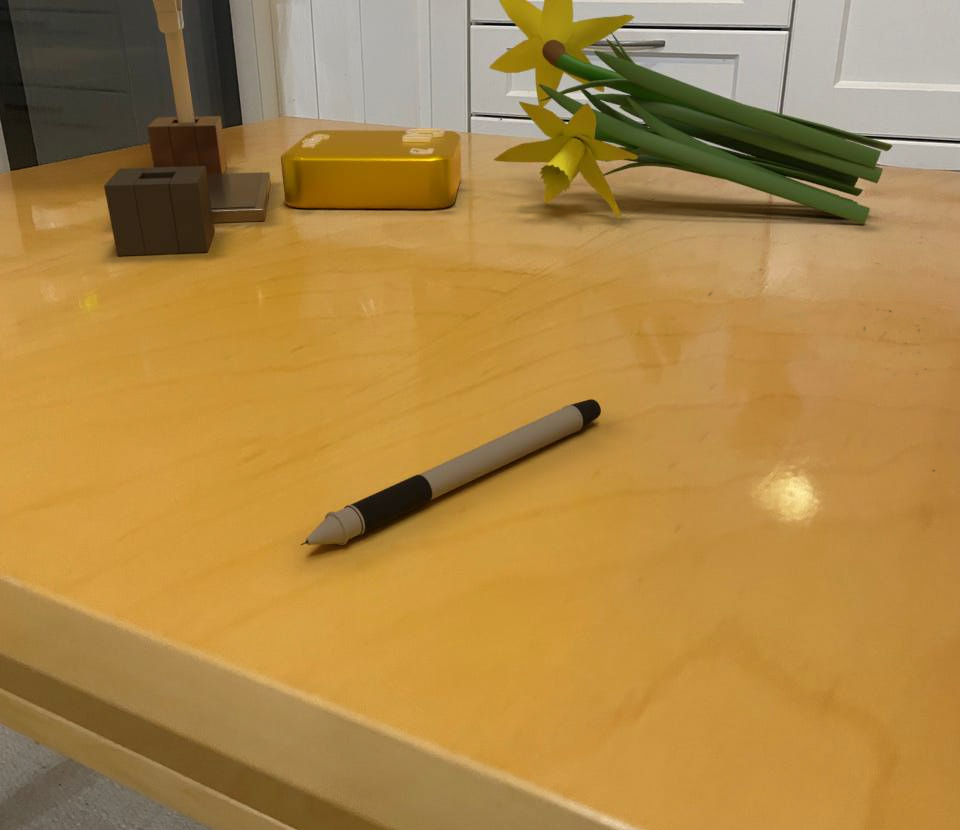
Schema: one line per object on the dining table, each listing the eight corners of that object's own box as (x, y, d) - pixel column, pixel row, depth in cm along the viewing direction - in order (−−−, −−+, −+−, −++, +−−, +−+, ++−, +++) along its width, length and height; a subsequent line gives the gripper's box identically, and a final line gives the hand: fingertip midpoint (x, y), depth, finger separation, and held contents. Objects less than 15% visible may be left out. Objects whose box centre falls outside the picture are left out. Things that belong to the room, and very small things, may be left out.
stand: (155, 180, 92) (146, 126, 90) (164, 168, 98) (156, 117, 95) (222, 178, 93) (215, 124, 91) (227, 166, 99) (220, 115, 96)
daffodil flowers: (877, 261, 70) (431, 116, 70) (808, 306, 85) (440, 186, 85) (945, 49, 70) (501, -94, 71) (864, 130, 85) (498, 12, 85)
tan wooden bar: (183, 166, 94) (160, 10, 87) (185, 164, 96) (162, 9, 89) (200, 166, 95) (178, 10, 88) (201, 163, 96) (179, 9, 89)
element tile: (313, 175, 94) (308, 124, 92) (462, 176, 94) (461, 125, 92) (280, 209, 81) (274, 151, 79) (453, 210, 81) (452, 152, 78)
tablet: (113, 227, 76) (111, 213, 75) (143, 186, 90) (141, 175, 89) (264, 221, 78) (263, 207, 77) (270, 182, 91) (269, 171, 91)
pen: (604, 425, 43) (605, 399, 43) (313, 568, 33) (310, 536, 32) (581, 417, 44) (583, 391, 43) (291, 553, 34) (287, 522, 33)
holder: (117, 256, 68) (103, 185, 66) (131, 234, 74) (119, 168, 71) (207, 252, 69) (197, 182, 67) (214, 231, 75) (205, 165, 72)
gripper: (128, -134, 91) (153, 26, 98) (85, -158, 73) (119, 39, 80) (195, -133, 92) (215, 25, 98) (169, -157, 74) (195, 38, 81)
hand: (172, 31), depth 89 cm, fingers closed on tan wooden bar, 1 cm apart
